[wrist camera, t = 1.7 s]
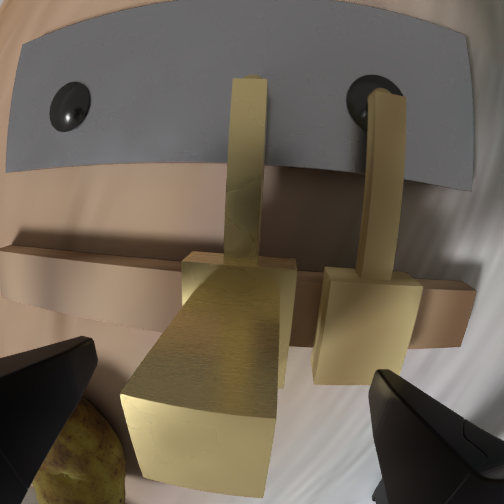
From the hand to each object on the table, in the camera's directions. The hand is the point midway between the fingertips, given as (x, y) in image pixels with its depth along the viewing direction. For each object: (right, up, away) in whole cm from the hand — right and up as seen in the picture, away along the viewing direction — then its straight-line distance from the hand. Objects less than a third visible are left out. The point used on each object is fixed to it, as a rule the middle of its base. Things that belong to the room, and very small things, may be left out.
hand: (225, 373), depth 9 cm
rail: (-1, +5, +5) cm, 7 cm away
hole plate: (-1, +11, +3) cm, 12 cm away
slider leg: (+1, +5, +4) cm, 6 cm away
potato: (-11, -11, +10) cm, 19 cm away
